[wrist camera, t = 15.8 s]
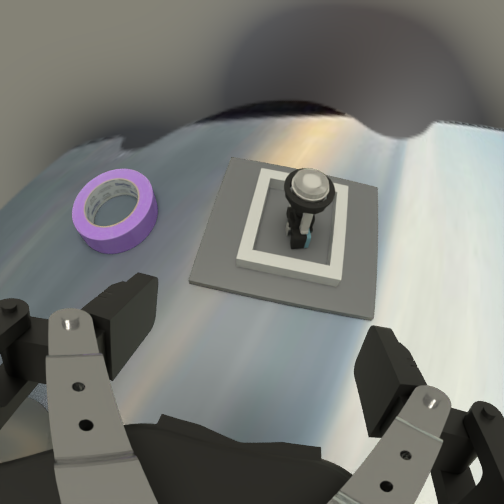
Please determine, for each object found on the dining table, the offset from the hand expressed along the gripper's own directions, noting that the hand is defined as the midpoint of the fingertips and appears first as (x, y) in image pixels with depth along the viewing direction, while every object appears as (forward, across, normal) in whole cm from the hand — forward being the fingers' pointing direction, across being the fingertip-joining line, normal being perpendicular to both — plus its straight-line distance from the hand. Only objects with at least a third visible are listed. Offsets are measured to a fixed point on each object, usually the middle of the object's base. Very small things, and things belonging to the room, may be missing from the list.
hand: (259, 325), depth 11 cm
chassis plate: (+31, -3, +3) cm, 31 cm away
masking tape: (+30, +21, +6) cm, 37 cm away
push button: (+30, -3, +2) cm, 30 cm away
